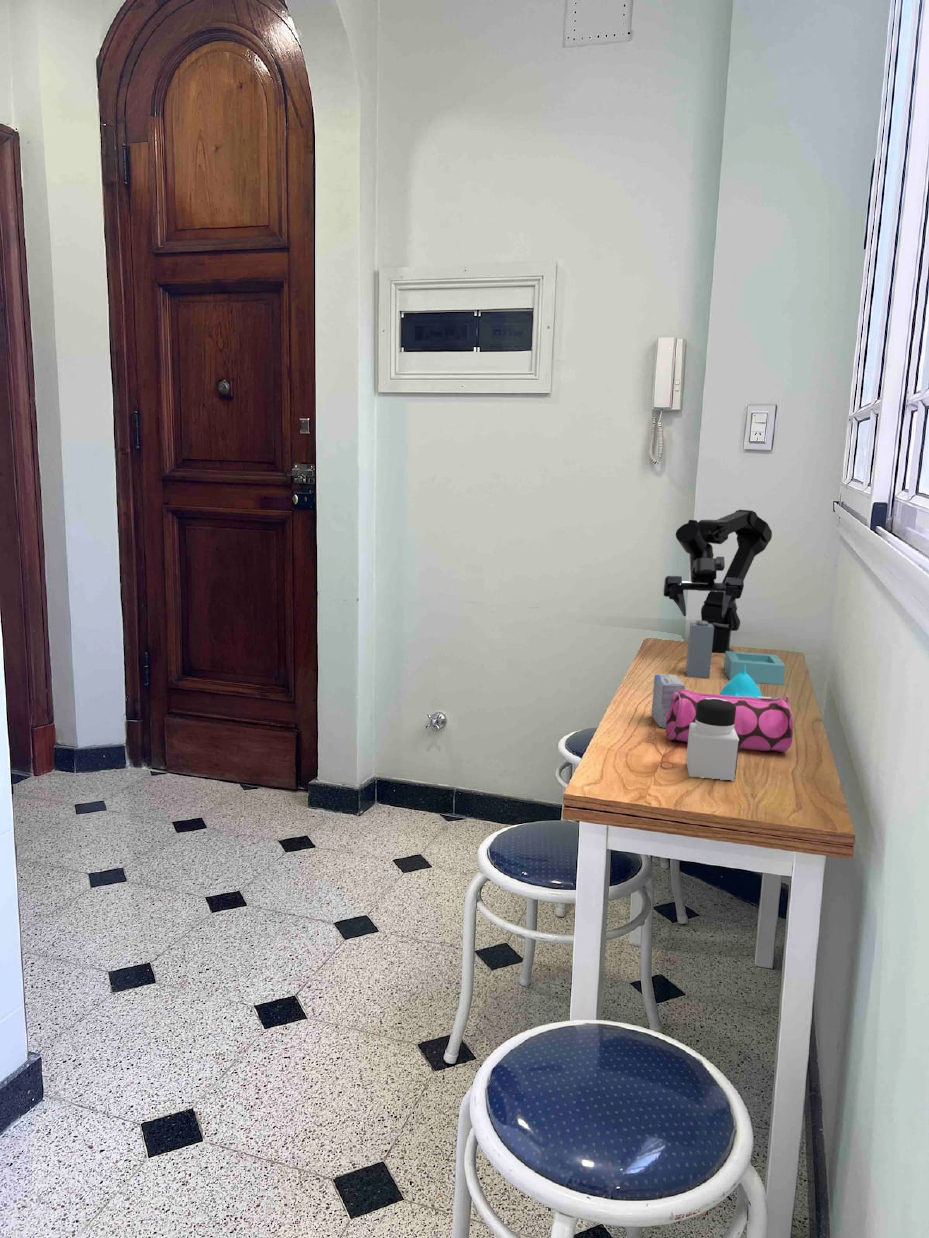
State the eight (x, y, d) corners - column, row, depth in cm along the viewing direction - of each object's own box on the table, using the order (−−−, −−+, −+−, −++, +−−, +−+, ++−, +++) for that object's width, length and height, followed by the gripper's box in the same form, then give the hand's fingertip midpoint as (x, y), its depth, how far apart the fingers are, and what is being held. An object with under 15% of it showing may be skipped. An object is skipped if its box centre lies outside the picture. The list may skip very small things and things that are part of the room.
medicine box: (682, 729, 166) (686, 684, 164) (658, 728, 166) (662, 683, 164) (673, 717, 174) (677, 674, 172) (650, 716, 174) (654, 673, 172)
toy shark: (720, 728, 168) (726, 673, 166) (708, 702, 185) (713, 653, 183) (774, 732, 166) (780, 677, 164) (756, 706, 184) (761, 656, 182)
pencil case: (780, 741, 162) (786, 688, 160) (793, 758, 152) (800, 703, 150) (662, 732, 164) (666, 680, 162) (667, 749, 154) (672, 693, 153)
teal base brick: (723, 668, 217) (725, 650, 216) (774, 672, 215) (776, 654, 214) (729, 680, 205) (731, 661, 205) (783, 684, 204) (785, 665, 203)
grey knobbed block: (685, 671, 212) (690, 618, 210) (707, 673, 211) (712, 620, 209) (687, 676, 207) (692, 622, 205) (709, 678, 206) (714, 624, 204)
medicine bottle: (735, 782, 139) (743, 709, 137) (688, 777, 140) (695, 704, 138) (729, 767, 146) (737, 697, 144) (685, 762, 147) (692, 693, 145)
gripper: (667, 543, 217) (668, 596, 209) (745, 545, 214) (749, 599, 206) (662, 569, 226) (663, 621, 218) (737, 571, 224) (741, 624, 215)
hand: (704, 616), depth 214 cm, fingers open, 9 cm apart
